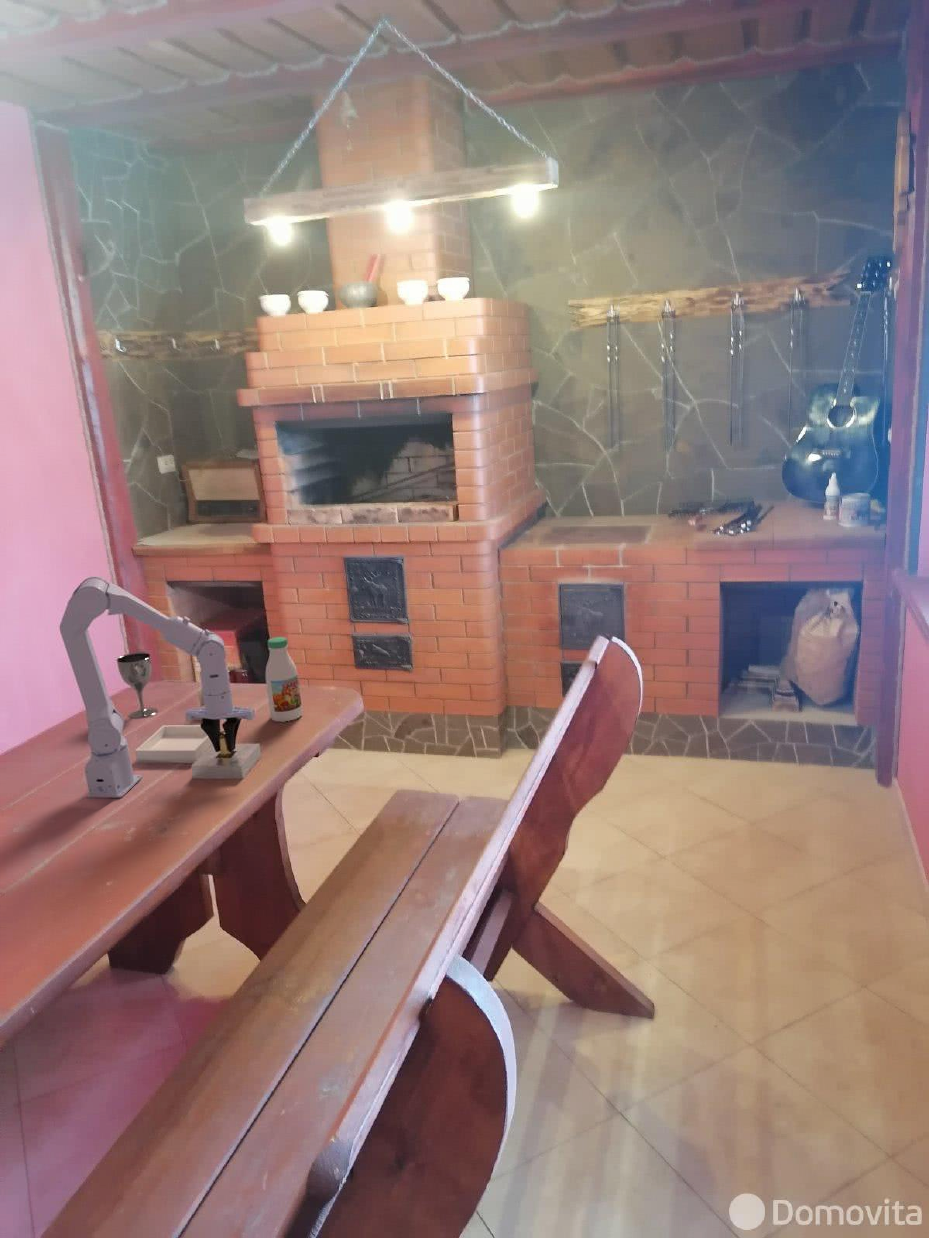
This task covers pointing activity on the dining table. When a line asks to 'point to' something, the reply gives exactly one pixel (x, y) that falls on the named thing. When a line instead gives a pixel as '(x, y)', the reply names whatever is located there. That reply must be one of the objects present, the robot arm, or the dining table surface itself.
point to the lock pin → (223, 745)
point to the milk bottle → (282, 682)
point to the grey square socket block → (226, 763)
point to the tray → (174, 745)
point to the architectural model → (201, 698)
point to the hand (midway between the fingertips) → (225, 750)
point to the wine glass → (137, 678)
